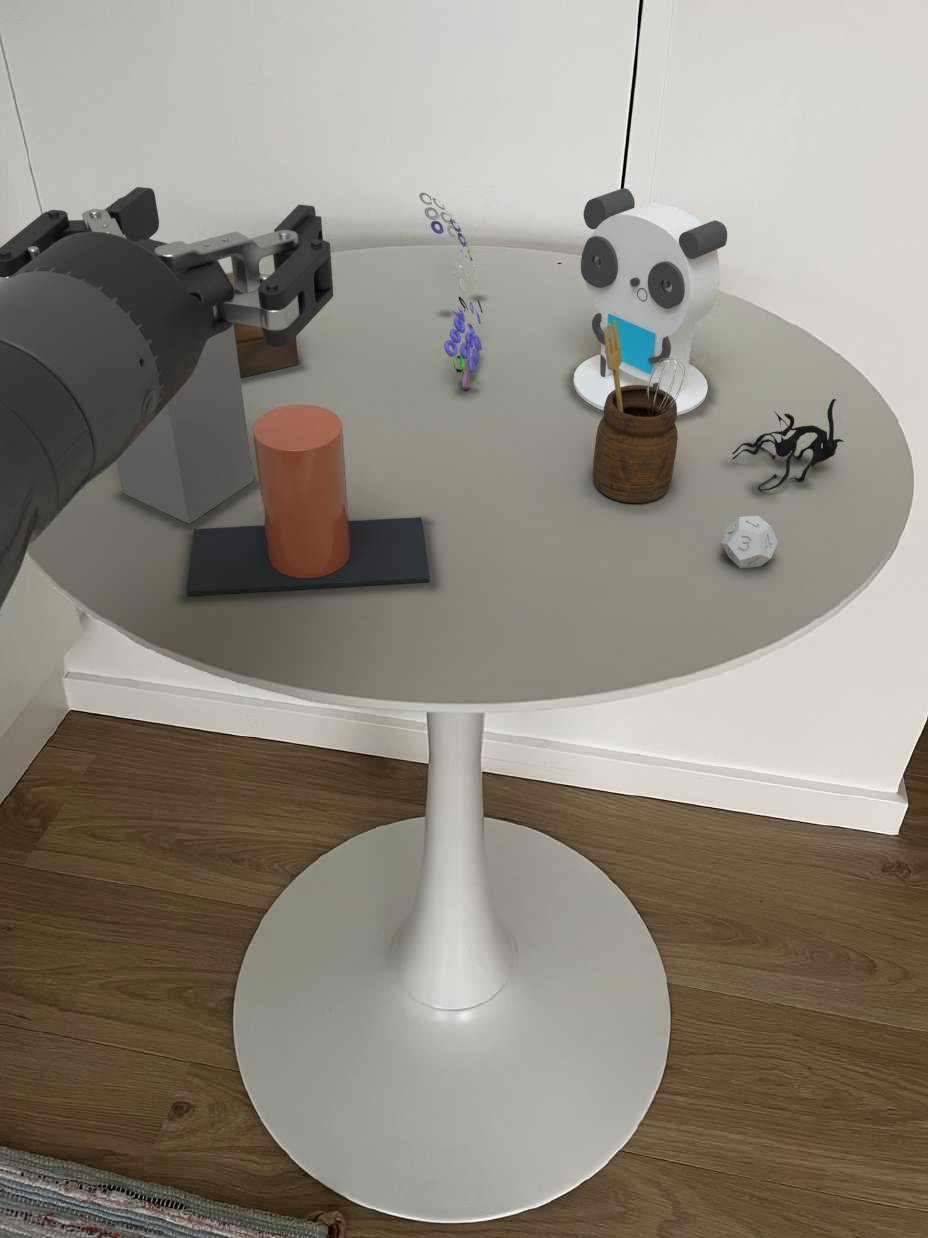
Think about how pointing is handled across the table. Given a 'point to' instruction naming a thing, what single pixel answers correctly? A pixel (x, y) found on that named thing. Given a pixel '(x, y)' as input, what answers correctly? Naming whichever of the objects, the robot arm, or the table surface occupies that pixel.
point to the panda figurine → (648, 294)
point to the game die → (749, 541)
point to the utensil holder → (635, 435)
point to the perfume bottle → (194, 441)
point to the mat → (245, 567)
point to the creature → (791, 445)
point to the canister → (303, 489)
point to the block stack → (260, 349)
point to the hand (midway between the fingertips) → (228, 215)
